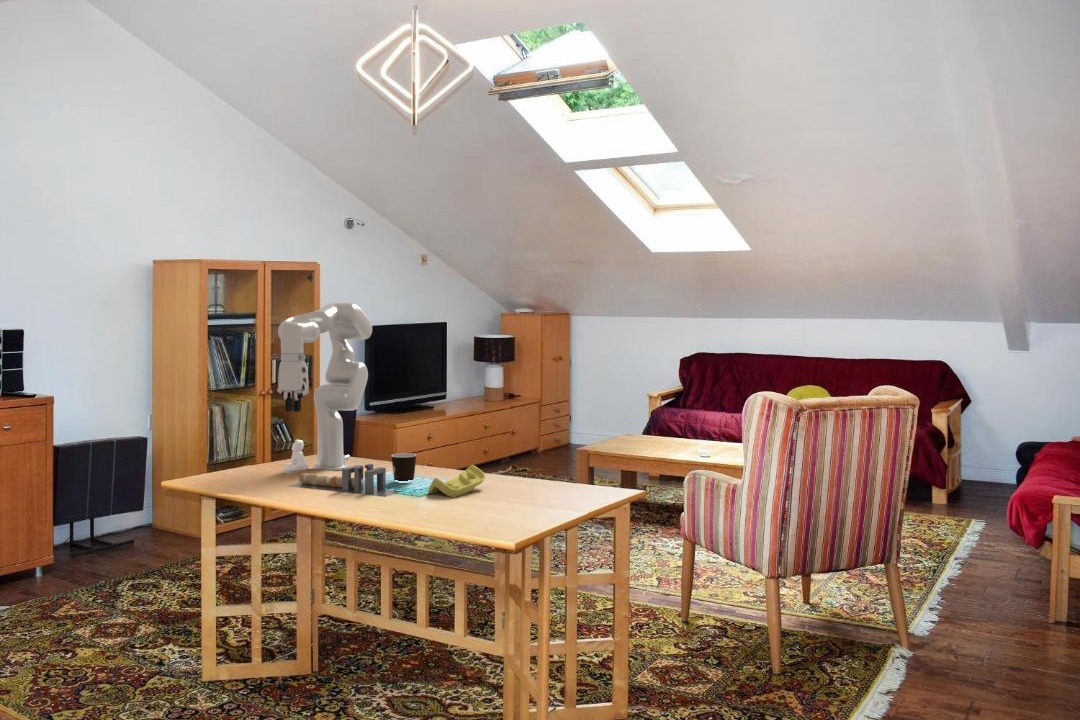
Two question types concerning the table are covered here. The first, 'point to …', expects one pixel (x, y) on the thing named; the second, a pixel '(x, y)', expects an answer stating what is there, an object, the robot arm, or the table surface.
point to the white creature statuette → (296, 458)
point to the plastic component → (459, 482)
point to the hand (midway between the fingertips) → (293, 410)
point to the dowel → (324, 480)
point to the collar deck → (358, 482)
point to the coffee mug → (403, 466)
